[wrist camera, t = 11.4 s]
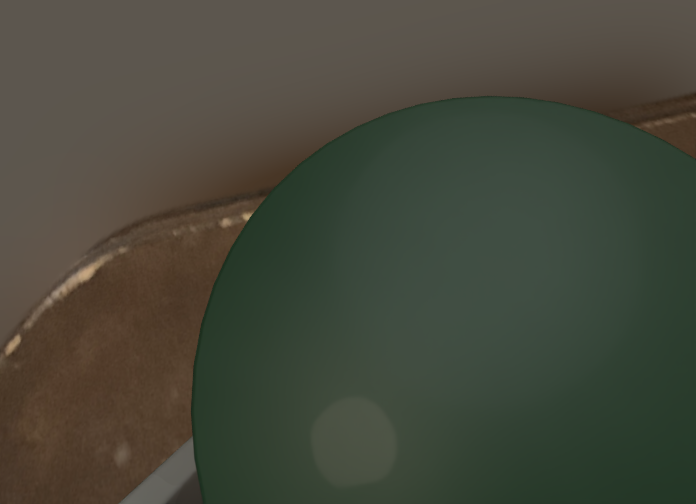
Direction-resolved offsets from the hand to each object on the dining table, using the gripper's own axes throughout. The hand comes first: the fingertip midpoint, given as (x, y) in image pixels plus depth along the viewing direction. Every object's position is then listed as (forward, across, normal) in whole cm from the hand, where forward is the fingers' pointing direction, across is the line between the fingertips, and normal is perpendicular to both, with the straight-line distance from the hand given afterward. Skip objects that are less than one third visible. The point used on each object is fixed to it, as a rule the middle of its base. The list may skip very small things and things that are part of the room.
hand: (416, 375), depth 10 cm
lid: (-5, 0, -4) cm, 6 cm away
